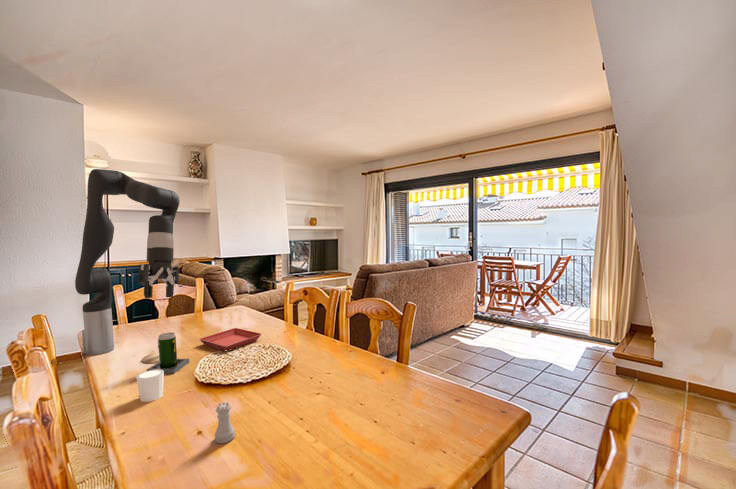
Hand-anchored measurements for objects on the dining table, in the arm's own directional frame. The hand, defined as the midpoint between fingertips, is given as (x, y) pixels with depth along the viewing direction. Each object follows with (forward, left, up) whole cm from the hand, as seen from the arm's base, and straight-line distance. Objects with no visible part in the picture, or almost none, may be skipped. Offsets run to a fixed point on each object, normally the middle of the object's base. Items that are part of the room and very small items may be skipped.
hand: (159, 297), depth 113 cm
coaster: (-14, +19, -27) cm, 36 cm away
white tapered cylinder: (+4, -12, -27) cm, 30 cm away
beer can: (-4, +9, -27) cm, 29 cm away
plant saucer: (+7, +35, -28) cm, 45 cm away
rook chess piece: (+35, -32, -27) cm, 54 cm away
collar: (-4, +9, -27) cm, 29 cm away
